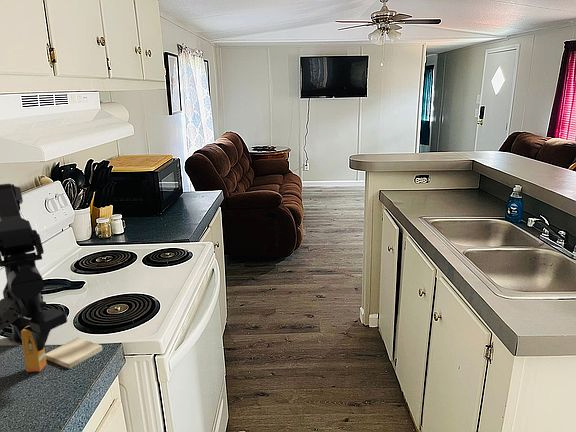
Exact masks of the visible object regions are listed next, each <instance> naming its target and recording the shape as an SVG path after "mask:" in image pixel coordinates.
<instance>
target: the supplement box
mask: <svg viewBox="0 0 576 432" xmlns="http://www.w3.org/2000/svg"><path fill="white" fill-rule="evenodd" d="M27 327H28V326H27ZM25 328H26V327H25ZM21 337H22V344H21V345H22V349H23V356H24V358H23V359H24V364H25V371H26V372H27V373H28V372H29V373H30V372H41V371H43V369H44V368H45V367H46V365H47V359H46V356H45V354H46V350H45V347H44V348H43V350H41V351H38V350H37V348H36V345H35V342H34V339H33V336H32V333H31V332H30V331H27V330H25V329H23V330H22V331H21Z"/></svg>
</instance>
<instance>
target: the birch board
mask: <svg viewBox="0 0 576 432" xmlns="http://www.w3.org/2000/svg"><path fill="white" fill-rule="evenodd" d="M103 350H104V349H103V345H101V344H98V343H96V342H92V341H91V340H90V341H89V340H87V339H84V338H81V337H79V336H78V337H76V338H74V339H72V340H69V341H68V342H66V343H64V344H61V345H60V346H58V347H56V348H55V349H52V350H51V351H48V352H45V356H46V361H50V362H52V363H54V364H56V365H60V366H62V367H64V368H66V369H72V368H74V367H76V366H77V365H79V364H81V363H83V362H85V361H86V360H88V359H90V358H91V357H93V356H95V355H97V354H99V353H100V352H102V351H103Z"/></svg>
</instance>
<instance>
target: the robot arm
mask: <svg viewBox="0 0 576 432" xmlns="http://www.w3.org/2000/svg"><path fill="white" fill-rule="evenodd" d="M23 200H24V199H23V195H22V191H21V187H20V186H15V185H14V184H13V183H2V184H0V268H2V267H4V272H5V276H6V284H5V286H4V288H3V290H2V296H3V298H1V299H0V331H2V330H4V329H5V328H6V327H7V326H11V330H12V334H10V335H8V336H7V340H9V341H12V342H15V343H17V344H19V345H23V344H22V337H21V331H22V330H23V329H25V330H27V331H30V332H31V333H32V336H33V339H34V342H35V345H36V348H37V350H38V351H41V350H43V348H44V349H45V345H46V343H47V340H48V337H49V336H50V335H49V334H50V333H51V331H52V330H53V329H56V328H58V327H60V326H63V325H64V324H66V323H67V322H68V316H67V312H66V311H63V310H59V309H56V308H54V307H50V308H49V309H46V310H45V308H47V302H46V301H44V296H43V295H42V294H41V293H42V291H43V290H44V289H45V282H44V278H43V276H42V274H41V272H40V271H39V269H38V268H37V266H36V265H37V264H36V262H37V261H41V260H43V255H42V254H44V247H43V243H42V239H41V236H40V234H39V233H38V231H37V230H36V229H33V228H32V225H31V222H30V221H29V220H27V219H25V218H22V215H21V212H20V211H21V205H22V204H23V202H24V201H23ZM35 251H36V252H35ZM27 326H28V327H27ZM25 327H26V328H25Z"/></svg>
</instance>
